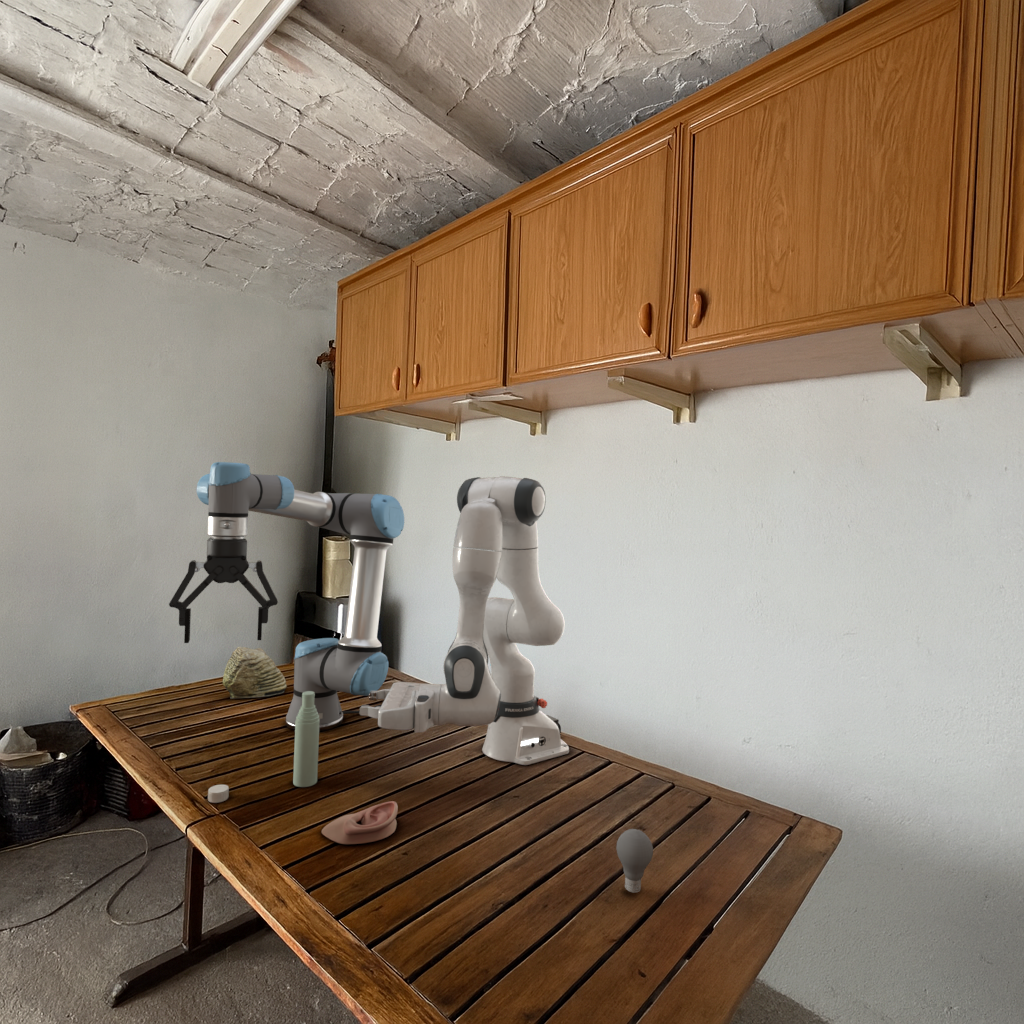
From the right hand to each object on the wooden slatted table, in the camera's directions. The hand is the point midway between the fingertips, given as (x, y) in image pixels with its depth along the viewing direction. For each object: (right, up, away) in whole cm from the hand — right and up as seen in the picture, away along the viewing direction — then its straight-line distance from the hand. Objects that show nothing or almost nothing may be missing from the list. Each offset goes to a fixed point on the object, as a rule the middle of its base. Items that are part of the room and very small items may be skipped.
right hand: (364, 702), depth 140 cm
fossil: (-48, -15, +58) cm, 76 cm away
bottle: (-13, -18, 0) cm, 22 cm away
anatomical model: (+4, -19, -19) cm, 27 cm away
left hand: (-27, +16, -10) cm, 33 cm away
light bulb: (+53, -21, -35) cm, 67 cm away
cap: (-28, -15, -9) cm, 33 cm away
